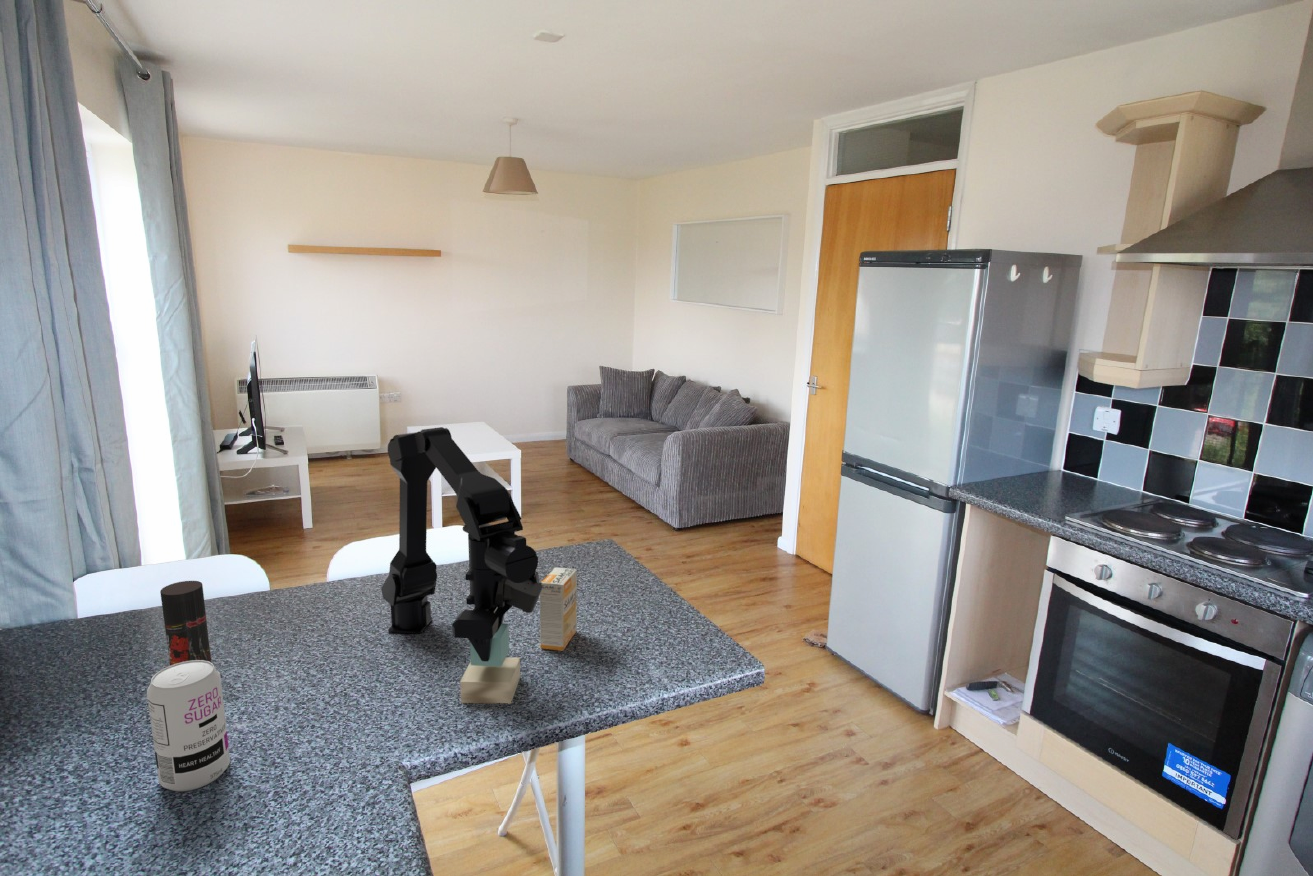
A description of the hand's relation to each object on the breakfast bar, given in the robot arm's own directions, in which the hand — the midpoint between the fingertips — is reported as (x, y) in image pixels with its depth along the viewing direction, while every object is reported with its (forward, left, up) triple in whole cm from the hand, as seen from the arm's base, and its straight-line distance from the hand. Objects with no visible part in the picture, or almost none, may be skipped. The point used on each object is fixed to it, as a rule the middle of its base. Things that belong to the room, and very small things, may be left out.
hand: (490, 652), depth 119 cm
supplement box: (+8, +18, -7) cm, 21 cm away
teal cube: (0, 0, -1) cm, 1 cm away
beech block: (0, 0, -7) cm, 7 cm away
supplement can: (-34, -24, -7) cm, 42 cm away
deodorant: (-53, +2, -7) cm, 53 cm away
